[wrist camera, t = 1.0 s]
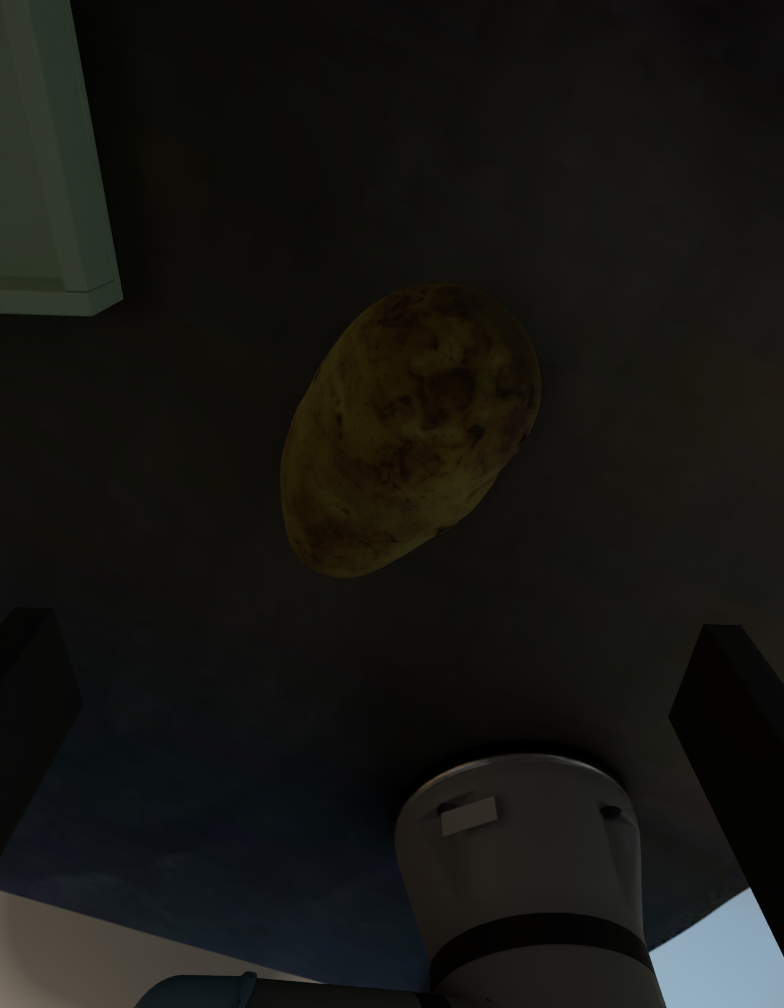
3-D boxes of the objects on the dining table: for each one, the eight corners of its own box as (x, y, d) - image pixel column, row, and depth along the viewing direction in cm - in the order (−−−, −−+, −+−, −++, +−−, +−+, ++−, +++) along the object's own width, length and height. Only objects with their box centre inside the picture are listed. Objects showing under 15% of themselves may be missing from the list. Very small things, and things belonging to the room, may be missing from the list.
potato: (210, 436, 27) (147, 536, 20) (438, 218, 22) (459, 248, 15) (344, 553, 30) (330, 676, 23) (566, 381, 25) (632, 468, 19)
